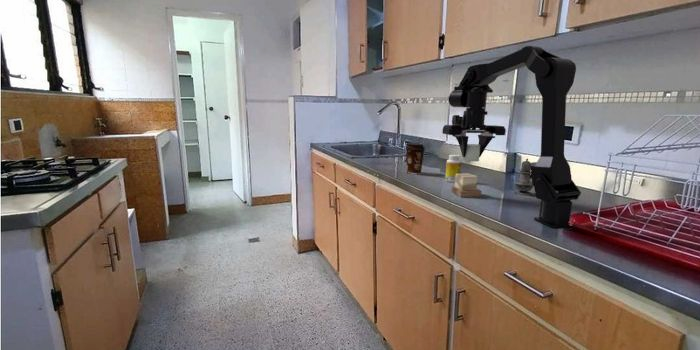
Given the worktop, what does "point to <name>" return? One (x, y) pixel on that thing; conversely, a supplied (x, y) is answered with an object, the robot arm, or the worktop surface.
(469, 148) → the pale green rounded block
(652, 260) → the worktop surface
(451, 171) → the supplement bottle
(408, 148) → the coffee cup
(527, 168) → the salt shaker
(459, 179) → the cube
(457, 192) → the slab
